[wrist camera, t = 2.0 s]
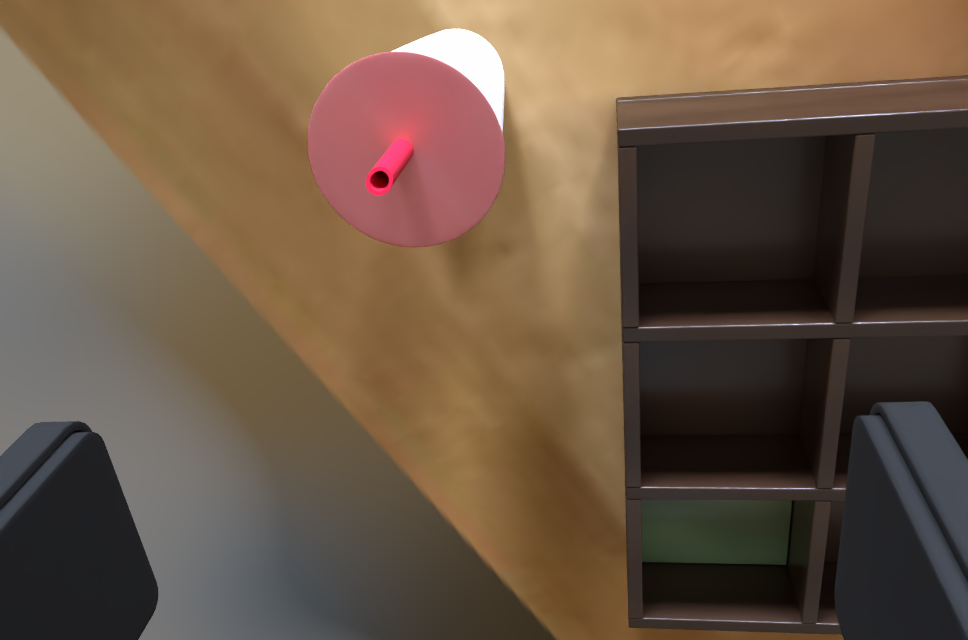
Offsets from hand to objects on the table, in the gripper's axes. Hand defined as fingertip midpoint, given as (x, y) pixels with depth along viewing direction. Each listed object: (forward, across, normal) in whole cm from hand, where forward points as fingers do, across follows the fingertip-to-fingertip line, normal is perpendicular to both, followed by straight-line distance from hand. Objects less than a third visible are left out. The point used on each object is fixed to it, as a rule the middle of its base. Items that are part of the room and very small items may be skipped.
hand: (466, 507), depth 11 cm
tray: (+22, -10, +11) cm, 27 cm away
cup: (+23, +3, -1) cm, 23 cm away
